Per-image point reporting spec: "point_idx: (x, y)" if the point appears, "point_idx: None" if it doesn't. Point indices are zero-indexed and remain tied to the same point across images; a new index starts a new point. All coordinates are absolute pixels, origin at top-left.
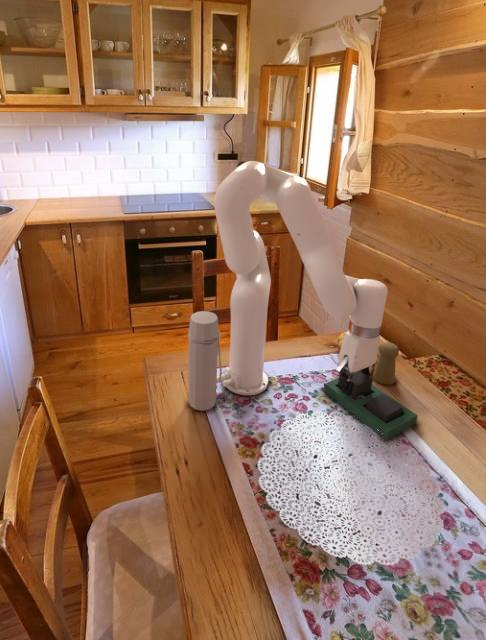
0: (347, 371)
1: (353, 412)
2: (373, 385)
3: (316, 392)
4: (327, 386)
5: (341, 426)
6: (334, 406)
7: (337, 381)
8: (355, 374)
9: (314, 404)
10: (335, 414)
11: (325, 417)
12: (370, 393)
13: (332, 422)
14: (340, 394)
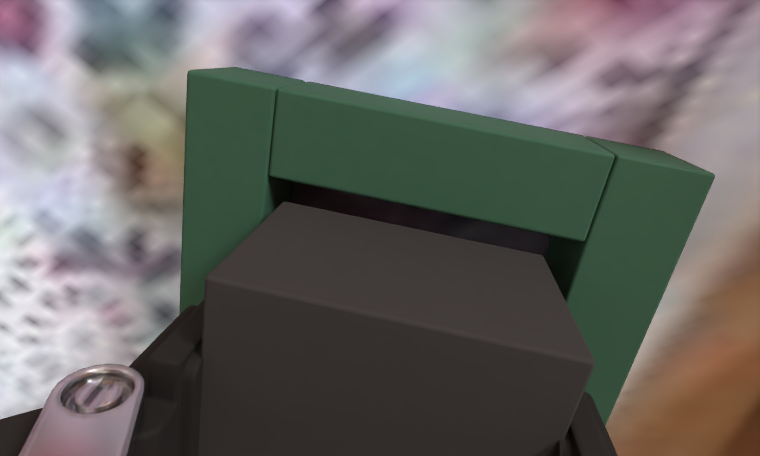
0: (353, 340)
1: None
2: None
3: (159, 30)
4: (189, 122)
5: (56, 383)
6: (161, 254)
7: (349, 155)
8: (389, 448)
9: (30, 128)
10: (102, 304)
11: (15, 272)
12: None
13: (27, 329)
14: (190, 295)
